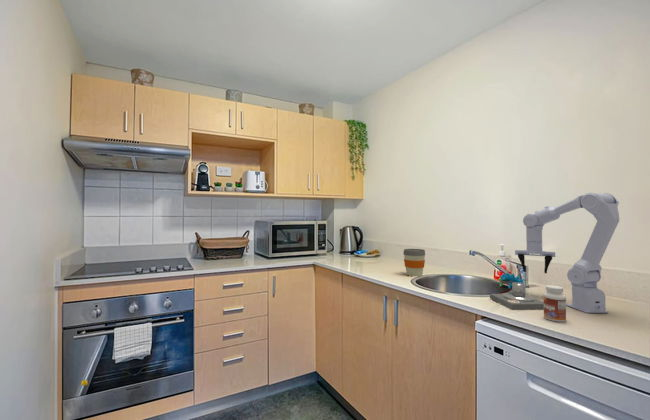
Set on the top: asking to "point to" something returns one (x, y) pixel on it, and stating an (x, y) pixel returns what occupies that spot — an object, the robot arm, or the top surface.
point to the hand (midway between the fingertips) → (534, 272)
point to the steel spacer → (518, 289)
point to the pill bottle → (554, 304)
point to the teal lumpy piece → (509, 279)
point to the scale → (517, 301)
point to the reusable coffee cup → (414, 261)
